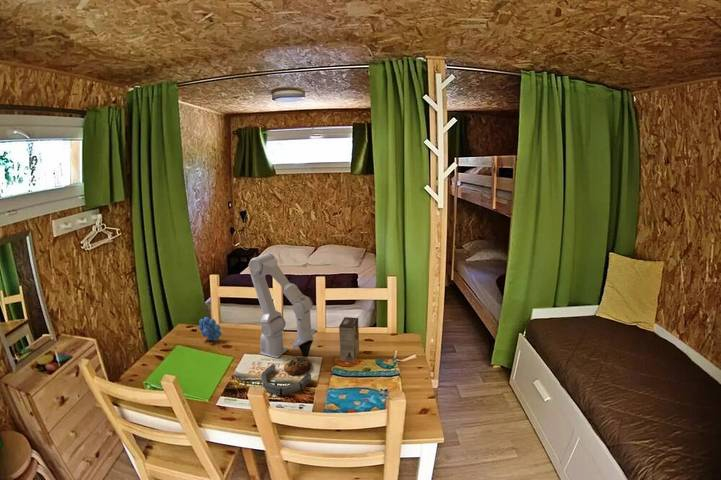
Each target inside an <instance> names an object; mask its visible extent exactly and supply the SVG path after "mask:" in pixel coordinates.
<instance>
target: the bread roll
mask: <svg viewBox="0 0 721 480" xmlns="http://www.w3.org/2000/svg"><path fill="white" fill-rule="evenodd" d="M311 367H312V363H311V361H310V359H309V358H308V357H303V356H295V357H291V359H289V360H287V362H285V364H284V365H283V370H284V371H285V373H286V374H289V375H290V376H291V375H292V376H296V375H297V376H300V375H303V374H307V373H309V371H310V370H311Z"/></svg>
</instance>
